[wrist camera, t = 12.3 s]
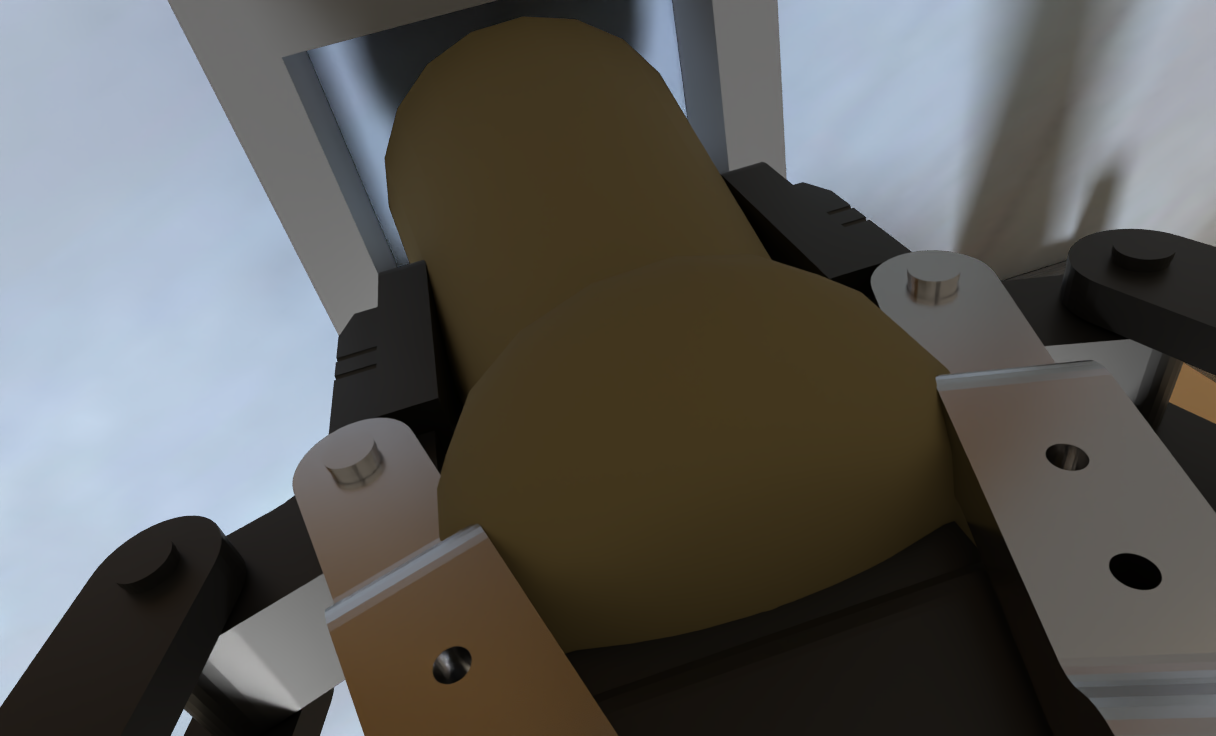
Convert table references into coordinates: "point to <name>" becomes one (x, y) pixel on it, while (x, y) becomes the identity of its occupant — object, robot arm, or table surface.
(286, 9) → the socket
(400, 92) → the table surface
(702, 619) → the cork
